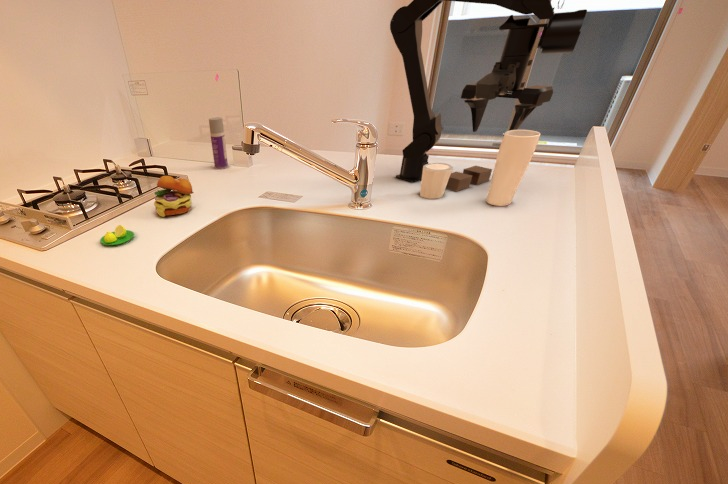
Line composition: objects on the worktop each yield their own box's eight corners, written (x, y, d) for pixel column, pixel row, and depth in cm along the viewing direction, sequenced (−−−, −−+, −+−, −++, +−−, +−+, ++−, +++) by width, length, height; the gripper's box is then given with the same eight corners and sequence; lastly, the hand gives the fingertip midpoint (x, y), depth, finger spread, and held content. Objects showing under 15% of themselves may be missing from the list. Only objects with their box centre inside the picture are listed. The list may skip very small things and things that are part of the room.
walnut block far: (460, 180, 101) (463, 169, 99) (472, 176, 103) (475, 165, 101) (476, 184, 98) (480, 173, 96) (488, 180, 100) (492, 169, 98)
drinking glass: (518, 208, 85) (546, 135, 75) (486, 208, 86) (510, 137, 76) (508, 197, 90) (534, 128, 80) (478, 197, 91) (500, 130, 81)
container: (213, 169, 128) (206, 120, 118) (216, 165, 131) (210, 117, 122) (226, 168, 127) (220, 119, 117) (229, 165, 130) (223, 116, 121)
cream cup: (448, 192, 95) (455, 163, 91) (442, 201, 91) (449, 171, 87) (420, 189, 98) (426, 161, 94) (414, 197, 94) (419, 169, 90)
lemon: (118, 230, 92) (115, 219, 90) (141, 235, 88) (138, 224, 87) (94, 243, 87) (89, 232, 85) (117, 249, 83) (113, 238, 82)
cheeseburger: (146, 214, 99) (143, 174, 94) (176, 210, 106) (174, 173, 102) (171, 220, 94) (169, 178, 89) (200, 216, 101) (200, 177, 96)
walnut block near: (440, 187, 99) (443, 175, 97) (453, 182, 100) (456, 171, 98) (456, 191, 95) (459, 179, 93) (469, 187, 97) (472, 175, 95)
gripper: (454, 58, 84) (437, 134, 94) (537, 59, 72) (507, 146, 82) (485, 54, 88) (466, 127, 98) (569, 53, 75) (537, 137, 85)
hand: (491, 134), depth 91 cm, fingers open, 9 cm apart
